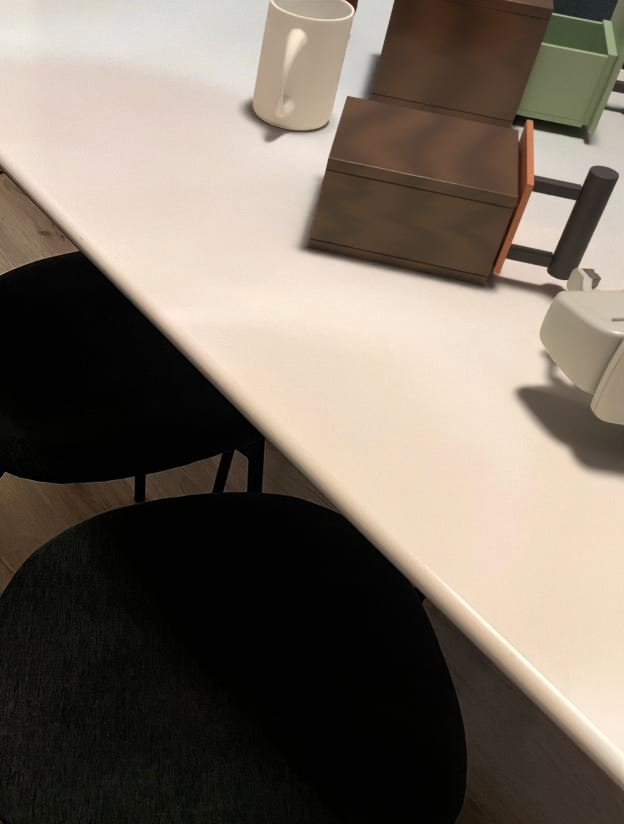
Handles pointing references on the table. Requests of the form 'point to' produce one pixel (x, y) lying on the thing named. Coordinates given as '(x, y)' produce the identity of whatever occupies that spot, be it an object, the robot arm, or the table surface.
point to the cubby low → (417, 190)
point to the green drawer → (576, 70)
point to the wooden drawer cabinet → (461, 56)
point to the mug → (301, 62)
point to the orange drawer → (579, 222)
